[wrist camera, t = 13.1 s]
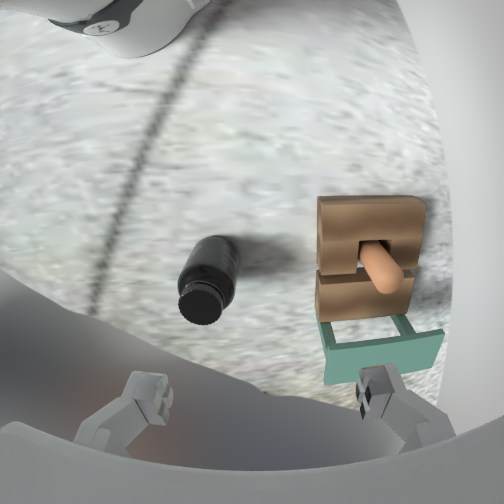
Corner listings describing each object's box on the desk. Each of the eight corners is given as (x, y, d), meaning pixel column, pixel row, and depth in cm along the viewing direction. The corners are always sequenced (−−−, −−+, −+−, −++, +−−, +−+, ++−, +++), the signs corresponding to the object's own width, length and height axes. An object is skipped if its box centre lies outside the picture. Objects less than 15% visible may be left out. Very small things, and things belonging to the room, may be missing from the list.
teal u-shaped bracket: (312, 284, 43) (329, 350, 30) (404, 277, 42) (445, 333, 29) (311, 317, 45) (324, 385, 33) (398, 308, 44) (431, 367, 32)
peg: (353, 233, 39) (377, 267, 30) (377, 232, 39) (406, 265, 30) (351, 256, 41) (373, 295, 32) (374, 255, 41) (401, 292, 32)
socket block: (317, 196, 37) (323, 205, 34) (412, 195, 37) (426, 203, 33) (314, 306, 44) (318, 322, 41) (397, 299, 44) (406, 313, 40)
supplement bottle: (189, 235, 40) (163, 279, 29) (239, 234, 40) (230, 279, 29) (194, 279, 43) (174, 331, 32) (241, 279, 43) (234, 333, 32)
